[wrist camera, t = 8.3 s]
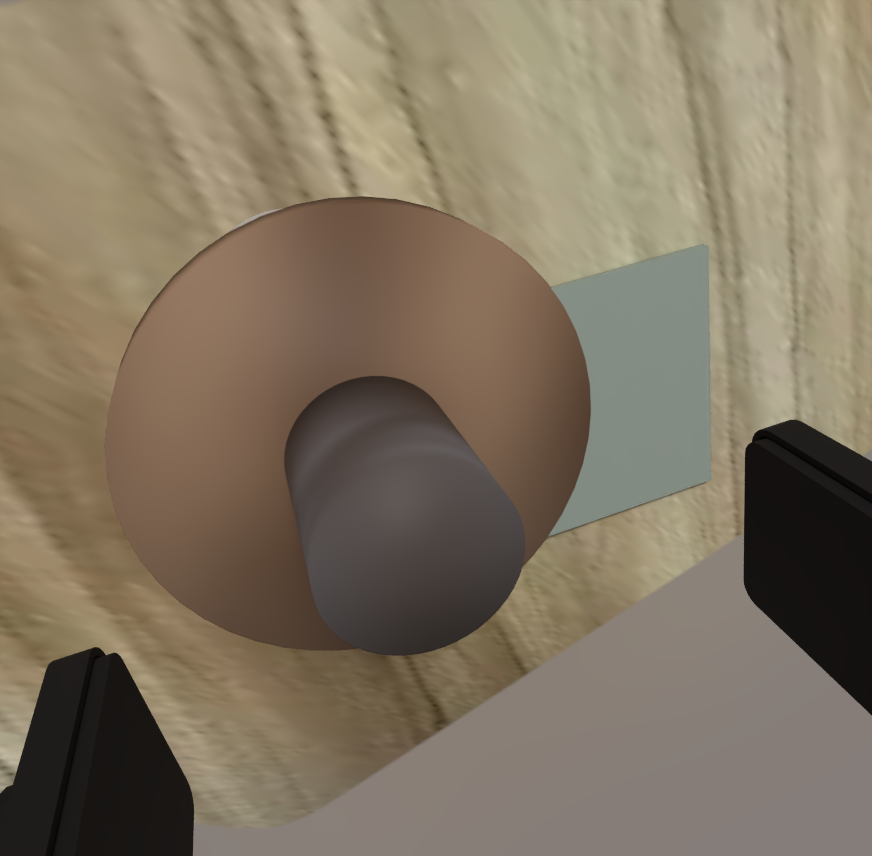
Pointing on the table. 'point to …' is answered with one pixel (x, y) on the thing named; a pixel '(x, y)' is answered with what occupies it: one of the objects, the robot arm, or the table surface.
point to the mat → (642, 382)
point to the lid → (348, 427)
